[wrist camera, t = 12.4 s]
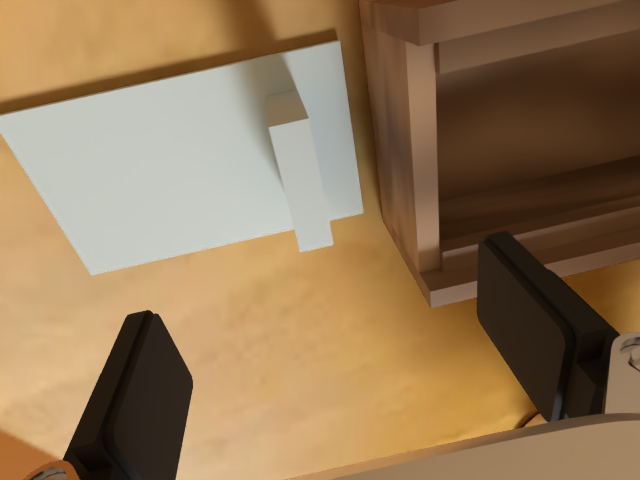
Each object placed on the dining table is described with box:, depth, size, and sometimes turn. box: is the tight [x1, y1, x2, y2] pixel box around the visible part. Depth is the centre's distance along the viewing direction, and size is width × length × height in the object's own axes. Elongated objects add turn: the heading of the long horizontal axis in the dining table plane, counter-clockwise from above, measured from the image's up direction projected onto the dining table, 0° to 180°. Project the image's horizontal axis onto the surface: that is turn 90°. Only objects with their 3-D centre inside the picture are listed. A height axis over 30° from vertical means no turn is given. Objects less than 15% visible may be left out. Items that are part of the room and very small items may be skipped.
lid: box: [0, 40, 364, 276], centre depth 20 cm, size 9×16×6 cm, turn 100°
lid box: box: [358, 0, 640, 308], centre depth 19 cm, size 12×18×8 cm, turn 100°
